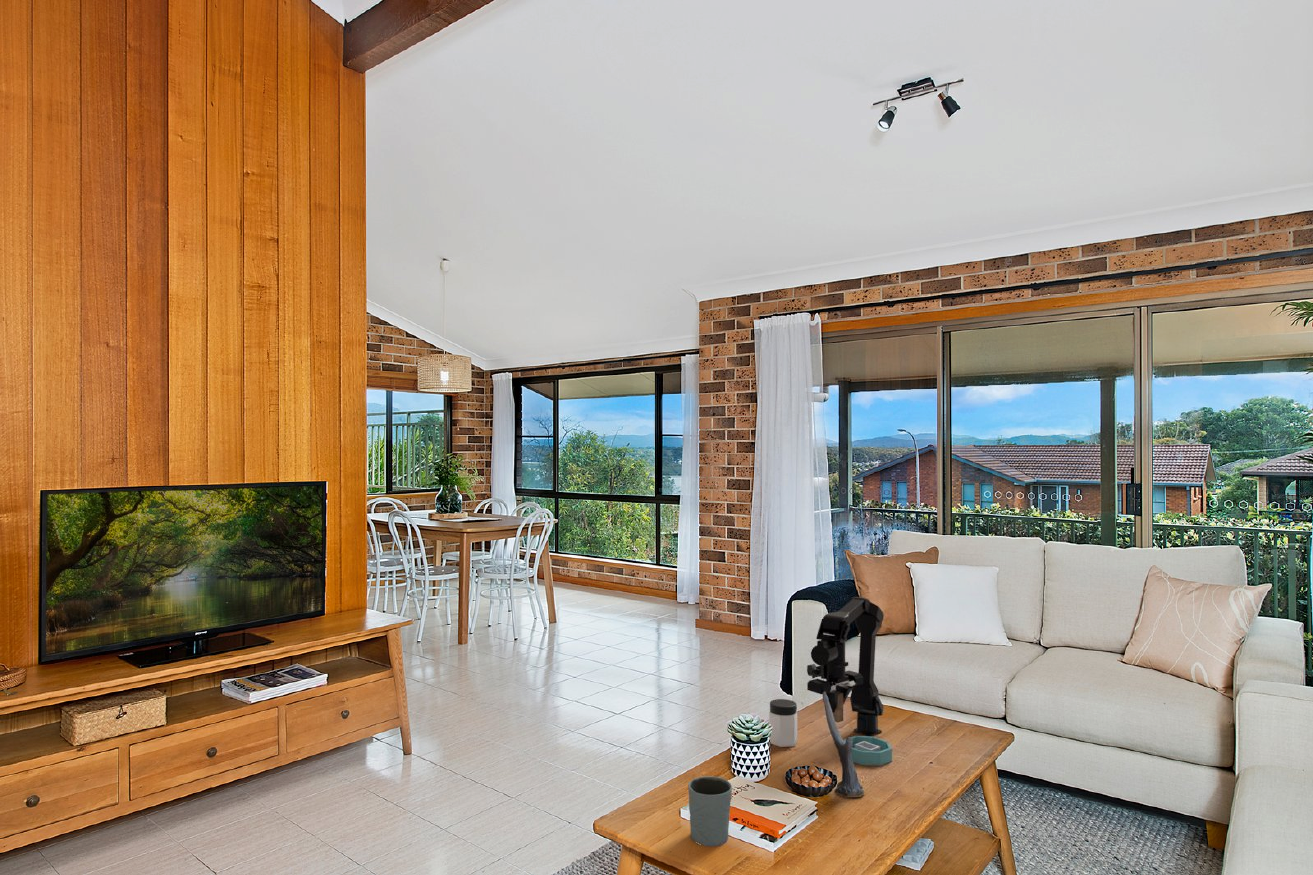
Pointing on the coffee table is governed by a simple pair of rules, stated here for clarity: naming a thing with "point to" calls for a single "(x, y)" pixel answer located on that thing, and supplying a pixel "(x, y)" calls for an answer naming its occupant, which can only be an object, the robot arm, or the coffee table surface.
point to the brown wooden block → (839, 709)
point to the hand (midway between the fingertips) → (835, 711)
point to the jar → (783, 722)
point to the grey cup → (709, 810)
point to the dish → (870, 750)
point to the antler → (843, 758)
